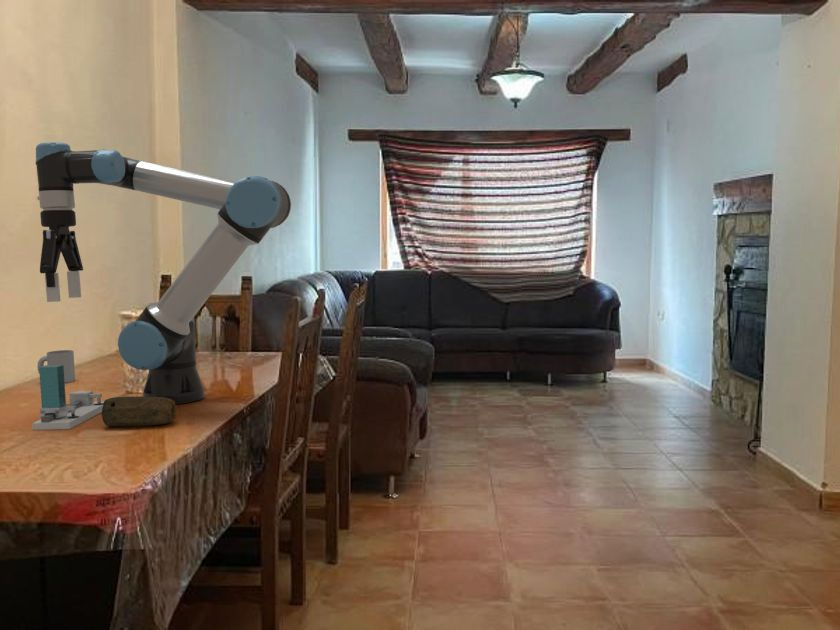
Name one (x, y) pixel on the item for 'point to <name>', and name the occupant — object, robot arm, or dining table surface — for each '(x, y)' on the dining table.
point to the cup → (61, 362)
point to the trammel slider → (53, 391)
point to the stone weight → (138, 411)
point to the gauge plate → (82, 413)
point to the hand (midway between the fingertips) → (64, 299)
